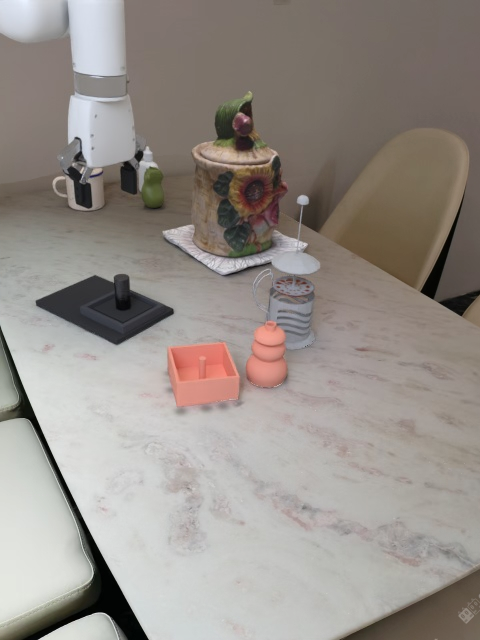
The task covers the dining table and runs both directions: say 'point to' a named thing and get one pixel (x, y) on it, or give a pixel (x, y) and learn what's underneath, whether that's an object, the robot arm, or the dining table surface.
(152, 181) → the pear
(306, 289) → the french press
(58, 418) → the dining table surface
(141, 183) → the eye dropper bottle
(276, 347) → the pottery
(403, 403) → the dining table surface
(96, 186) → the teacup with lid
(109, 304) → the stud pad
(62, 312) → the base pad
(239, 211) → the cookie jar
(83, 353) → the dining table surface
